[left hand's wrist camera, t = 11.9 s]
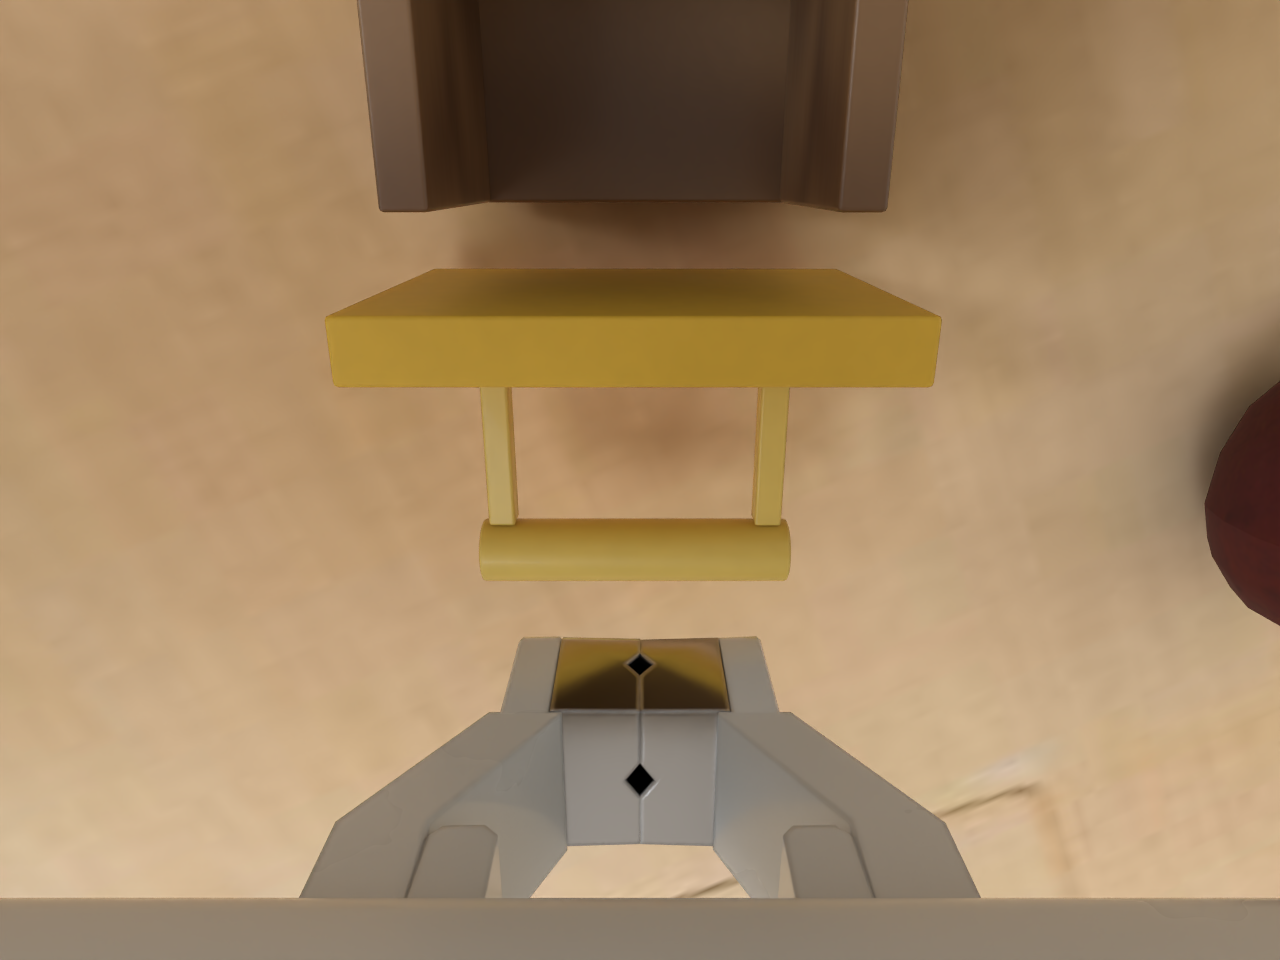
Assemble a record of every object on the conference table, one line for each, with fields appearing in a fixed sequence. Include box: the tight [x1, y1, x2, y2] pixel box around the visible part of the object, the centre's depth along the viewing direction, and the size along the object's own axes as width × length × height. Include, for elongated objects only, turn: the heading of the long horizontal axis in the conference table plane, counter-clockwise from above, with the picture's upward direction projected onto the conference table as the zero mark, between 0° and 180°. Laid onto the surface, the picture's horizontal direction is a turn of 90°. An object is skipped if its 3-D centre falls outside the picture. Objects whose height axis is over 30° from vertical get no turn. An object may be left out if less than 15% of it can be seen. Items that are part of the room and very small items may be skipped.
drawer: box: [325, 0, 942, 581], centre depth 15 cm, size 23×10×7 cm, turn 0°
